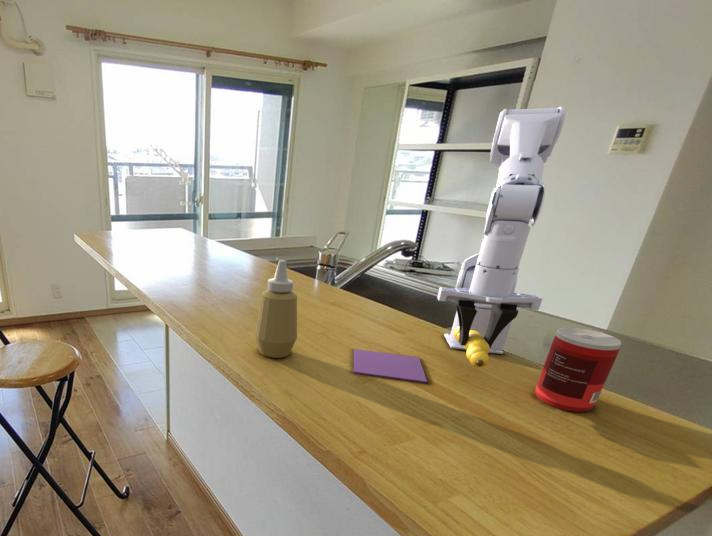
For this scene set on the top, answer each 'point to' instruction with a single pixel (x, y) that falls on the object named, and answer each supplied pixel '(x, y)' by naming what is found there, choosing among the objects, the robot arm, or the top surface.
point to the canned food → (577, 368)
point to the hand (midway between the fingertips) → (474, 344)
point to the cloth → (388, 365)
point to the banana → (475, 348)
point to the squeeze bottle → (277, 316)
